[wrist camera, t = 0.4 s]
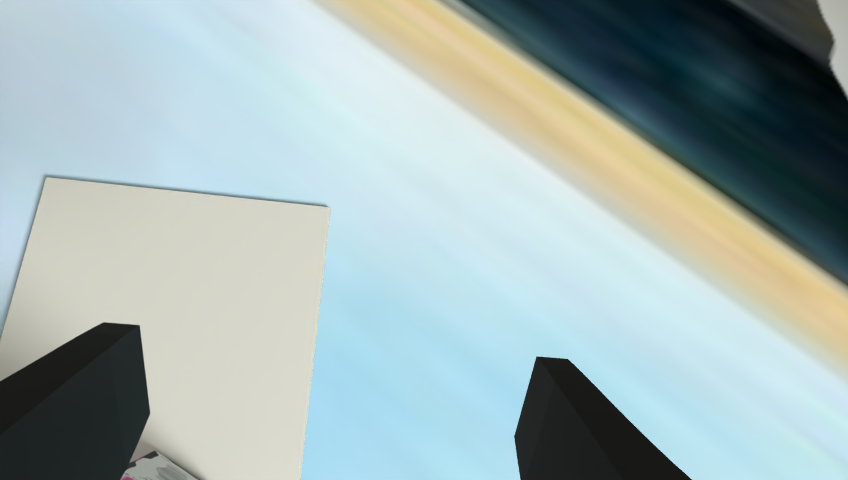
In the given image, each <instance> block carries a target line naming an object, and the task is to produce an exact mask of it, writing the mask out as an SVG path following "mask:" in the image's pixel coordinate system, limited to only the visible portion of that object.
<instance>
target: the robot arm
mask: <svg viewBox="0 0 848 480" xmlns="http://www.w3.org/2000/svg"><path fill="white" fill-rule="evenodd" d="M149 416H150V407H149V398H148V390H147V381H146V373H145V365H144V356H143V348H142V340H141V331H140V325H133V324H120V323H107V322H103V323H101V324H99V325H97V326H95V327H93V328H91V329H90V330H88V331H86V332H84V333H82V334H81V335H79V336H77V337H75V338H74V339H72V340H70V341H68V342H67V343H65V344H63V345H61V346H60V347H58V348H56V349H55V350H53V351H51V352H50V353H48V354H46V355H44V356H43V357H41V358H39V359H38V360H36V361H34V362H32V363H31V364H29V365H27V366H26V367H24V368H22V369H20V370H19V371H17V372H15V373H13V374H12V375H10V376H8V377H6V378H5V379H3V380H1V381H0V480H120V479H121V478H122V476H123V474H124V472H125V471H126V469H127V467H128V465H129V462H130V460H131V458H132V456H133V453H134V451H135V449H136V447H137V444H138V442H139V440H140V437H141V435H142V432H143V430H144V428H145V425H146V423H147V420H148V418H149ZM514 438H515V445H516V452H517V459H518V466H519V472H520V478H521V480H692V479H690V478H689V477H688V476H687V475H686V474H685V473H684V472H683V471H682V470H680V469H679V468H678V467H677V466H676V465H675V464H674V463H673V462H672V461H671V460H669V459H668V458H667V457H666V456H665V455H664V454H663V453H662V452H661V451H660V450H659V449H658V448H657V447H656V446H655V445H654V444H653V443H651V442H650V441H649V440H648V439H647V438H646V437H645V436H644V435H643V434H642V433H641V432H640V431H639V430H638V429H637V428H636V427H635V426H634V425H633V424H632V423H631V422H630V421H629V420H628V419H627V418H626V417H625V416H624V415H623V414H622V413H621V412H620V411H619V410H618V409H617V408H616V407H615V406H614V405H613V404H612V403H611V402H610V401H609V400H608V399H607V398H606V397H605V396H604V395H603V394H602V393H601V392H600V391H599V389H598V388H597V387H596V386H595V385H594V384H593V383H592V382H591V381H590V380H589V379H588V378H587V377H586V376H585V375H584V374H583V373H582V372H581V371H580V370H579V369H578V368H577V367H576V366H575V365H574V364H573V363H571V362H570V361H569V360H568V359H561V358H548V357H536V361H535V364H534V368H533V371H532V375H531V379H530V382H529V386H528V389H527V393H526V397H525V400H524V404H523V407H522V411H521V415H520V418H519V422H518V425H517V429H516V433H515V436H514Z"/></svg>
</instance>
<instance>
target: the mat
mask: <svg viewBox="0 0 848 480" xmlns="http://www.w3.org/2000/svg"><path fill="white" fill-rule="evenodd" d="M330 211H331V207H322V206H313V205H303V204H294V203H284V202H275V201H265V200H256V199H247V198H237V197H228V196H218V195H209V194H200V193H190V192H181V191H171V190H162V189H152V188H143V187H134V186H124V185H115V184H105V183H96V182H87V181H77V180H68V179H58V178H49V177H46V180H45V184H44V187H43V191H42V194H41V198H40V201H39V205H38V209H37V212H36V216H35V219H34V223H33V226H32V230H31V233H30V237H29V240H28V244H27V247H26V251H25V255H24V258H23V262H22V265H21V269H20V272H19V276H18V279H17V283H16V286H15V290H14V294H13V297H12V301H11V304H10V308H9V311H8V315H7V318H6V322H5V325H4V329H3V332H2V336H1V340H0V381H1V380H3V379H5V378H6V377H8V376H10V375H12V374H13V373H15V372H17V371H19V370H20V369H22V368H24V367H26V366H27V365H29V364H31V363H32V362H34V361H36V360H38V359H39V358H41V357H43V356H44V355H46V354H48V353H50V352H51V351H53V350H55V349H56V348H58V347H60V346H61V345H63V344H65V343H67V342H68V341H70V340H72V339H74V338H75V337H77V336H79V335H81V334H82V333H84V332H86V331H88V330H90V329H91V328H93V327H95V326H97V325H99V324H101V323H103V322H107V323H120V324H133V325H140V331H141V340H142V348H143V356H144V365H145V373H146V381H147V390H148V398H149V407H150V416H149V418H148V420H147V423H146V425H145V428H144V430H143V432H142V435H141V437H140V440H139V442H138V444H137V447H136V449H135V451H134V453H133V456H132V458H131V460H130V462H133V461H135V460H137V459H139V458H141V457H143V456H145V455H147V454H149V453H151V452H153V451H157V452H159V453H160V454H162V455H163V456H165V457H167V458H169V459H170V460H171V461H173V462H174V463H175V464H177V465H178V466H180V467H181V468H183V469H184V470H186V471H187V472H188V473H190V474H191V475H193V476H195V477H197V478H199V479H200V480H300V479H301V470H302V461H303V453H304V444H305V435H306V426H307V417H308V408H309V399H310V390H311V381H312V372H313V363H314V354H315V345H316V336H317V327H318V318H319V310H320V301H321V292H322V283H323V274H324V265H325V256H326V247H327V238H328V229H329V220H330ZM130 462H129V463H130Z"/></svg>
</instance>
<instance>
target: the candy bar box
mask: <svg viewBox="0 0 848 480" xmlns="http://www.w3.org/2000/svg"><path fill="white" fill-rule="evenodd" d="M120 480H200V479H199V478H197V477H195V476H193V475H191V474H190V473H188V472H187V471H186V470H184V469H183V468H181V467H180V466H178V465H177V464H175V463H174V462H173V461H171V460H170V459H169V458H167V457H165V456H163V455H162V454H160V453H159V452H157V451H153V452H151V453H149V454H147V455H145V456H143V457H141V458H139V459H137V460H135V461H133V462H130V463H129V465H128V467H127V469H126V471H125V472H124V474H123V476H122V478H121V479H120Z"/></svg>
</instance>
